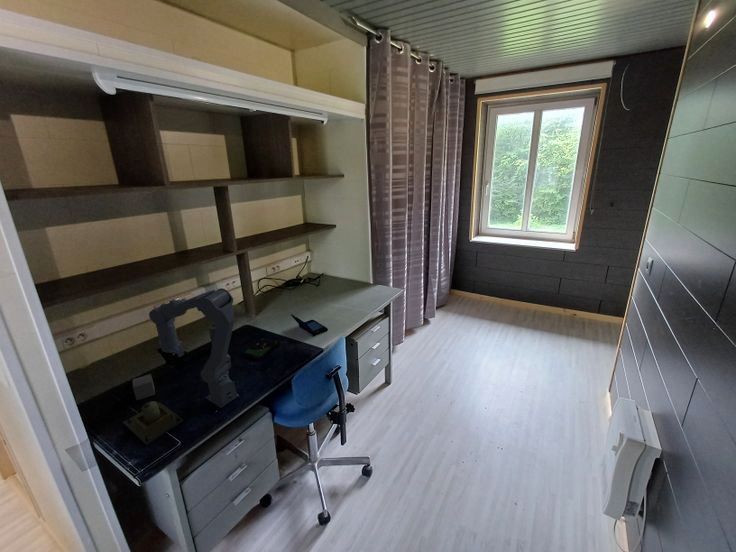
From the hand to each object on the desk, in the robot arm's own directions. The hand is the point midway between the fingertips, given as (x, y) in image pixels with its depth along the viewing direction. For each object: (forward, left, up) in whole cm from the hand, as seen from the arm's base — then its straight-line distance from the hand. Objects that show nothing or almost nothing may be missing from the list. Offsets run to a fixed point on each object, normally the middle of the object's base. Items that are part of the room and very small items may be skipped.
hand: (175, 366), depth 128 cm
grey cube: (+9, +9, -11) cm, 17 cm away
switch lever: (-11, +15, -9) cm, 21 cm away
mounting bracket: (-10, +15, -10) cm, 21 cm away
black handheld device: (-11, -63, -11) cm, 65 cm away
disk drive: (-5, -36, -11) cm, 38 cm away
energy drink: (+14, -26, -11) cm, 31 cm away
